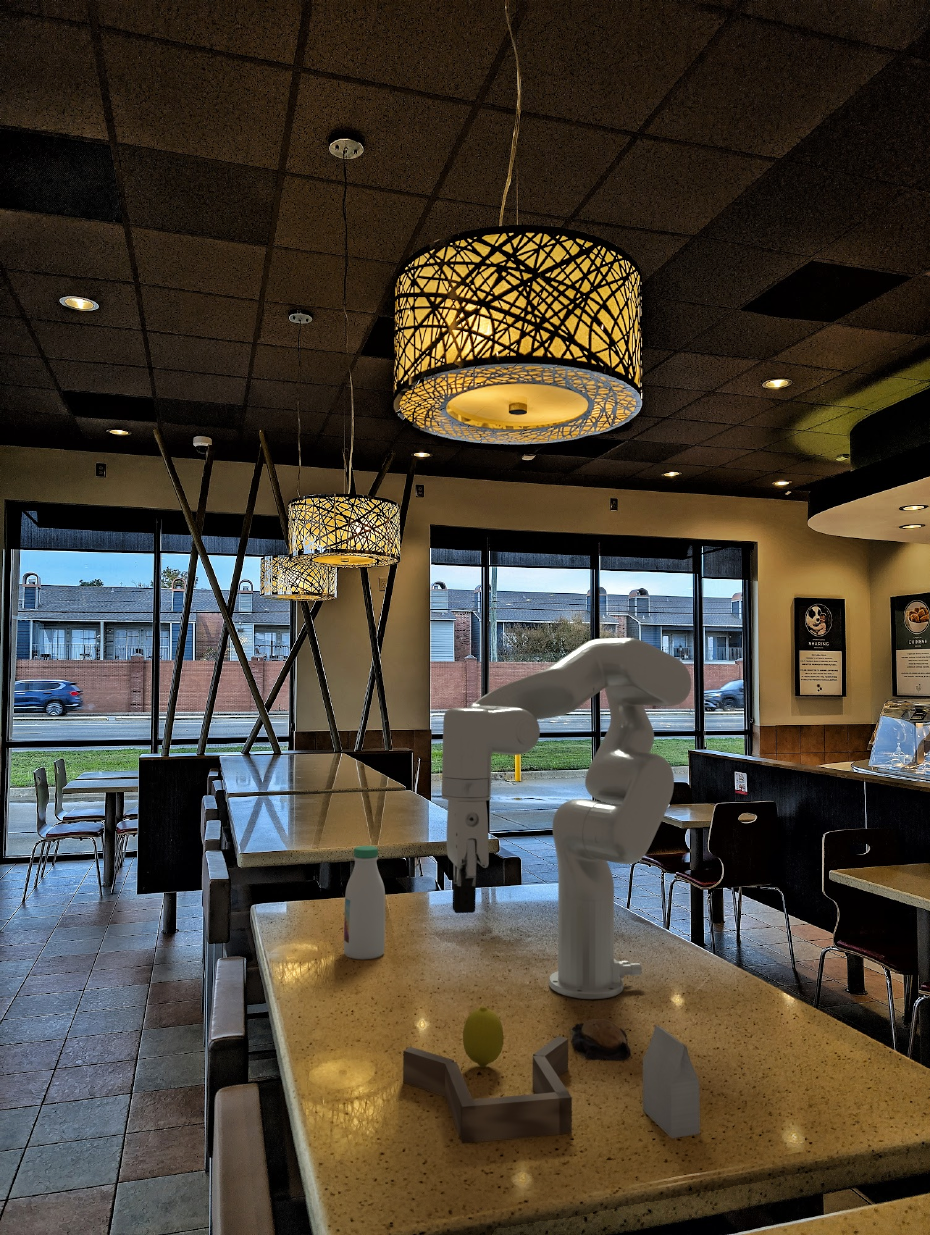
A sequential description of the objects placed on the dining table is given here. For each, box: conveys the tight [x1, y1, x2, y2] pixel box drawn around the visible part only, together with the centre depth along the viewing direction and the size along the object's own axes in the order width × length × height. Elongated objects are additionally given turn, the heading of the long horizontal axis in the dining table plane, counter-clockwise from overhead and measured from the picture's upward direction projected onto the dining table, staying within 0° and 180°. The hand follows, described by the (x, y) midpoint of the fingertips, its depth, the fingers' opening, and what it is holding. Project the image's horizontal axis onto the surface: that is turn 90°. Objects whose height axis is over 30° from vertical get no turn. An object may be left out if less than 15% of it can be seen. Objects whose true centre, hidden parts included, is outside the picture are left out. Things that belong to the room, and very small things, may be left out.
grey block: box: [642, 1024, 701, 1139], centre depth 104 cm, size 4×7×10 cm, turn 17°
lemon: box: [462, 1005, 505, 1069], centre depth 118 cm, size 6×6×8 cm
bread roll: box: [569, 1018, 633, 1062], centre depth 125 cm, size 11×8×4 cm
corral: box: [402, 1035, 573, 1144], centre depth 108 cm, size 22×17×4 cm
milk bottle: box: [343, 845, 386, 960], centre depth 166 cm, size 8×8×20 cm
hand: (463, 911), depth 131 cm, fingers closed
